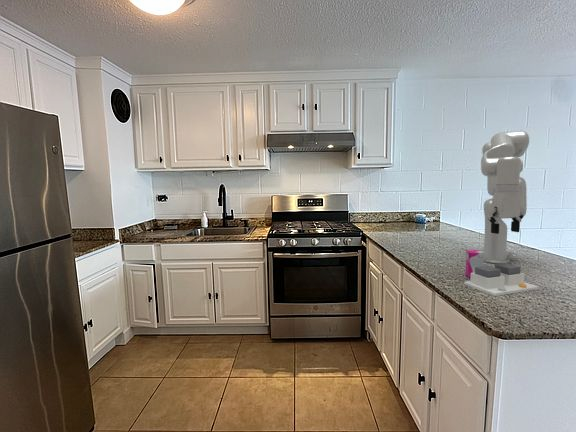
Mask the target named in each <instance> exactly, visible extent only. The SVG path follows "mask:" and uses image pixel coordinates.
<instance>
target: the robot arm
mask: <svg viewBox="0 0 576 432" xmlns="http://www.w3.org/2000/svg"><path fill="white" fill-rule="evenodd" d="M529 145H530V136H529V134H528V132H526V131H524V130H513V131H512V130H511V131H501V132H498V133H495V134H494V135H493V136H492V137H491V139H490V141H489V142H486V143H485V144H484V145H483V146H482V150H481V151H482V152H481V153H482V156H481V161H480V170H481V173H482V175H483V176H485V177H487V179H486V180H487V184H486V185H487V194H488V195H489V196H492V198H489V199H486V200H485V201H484V202H483V213H484V237H483V239H484V240H483V241H484V242H483V253H484V263H485V262H486V263H490V264H504V263H508V264H510V262H511V261H510V259H509V258H508V257H512V256H514V253H513V252H512V251H509V252H508V251H507V247H508V246H507V245H508V225H507V223H505V221H504V220H503V219H511V220H512V221H511V222H510V223H511V224H510V231H511V232H514V233H520V229H521V228H520V227H521V222H522V220H523V218H524V217H525V216H526V214H527V207H528V206H527V199H528V198H527V197H528V196H527V183H526V180H525V178H524V177H521V175H520V174H521V172H523V170H524V162H523V160H522V159H521V157H523V156H524V154H525V153H526V152H527V149H528V147H529Z"/></svg>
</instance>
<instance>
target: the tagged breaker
mask: <svg viewBox="0 0 576 432" xmlns="http://www.w3.org/2000/svg"><path fill="white" fill-rule="evenodd" d="M494 268H497V269H500V270H501V272H500V273H503V274H506V275H514V274H520V272H521V269H522V268H521V266H519V265H515V264H512V263H504V264H498V263H495V264H494ZM521 273H522V272H521Z"/></svg>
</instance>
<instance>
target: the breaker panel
mask: <svg viewBox="0 0 576 432" xmlns="http://www.w3.org/2000/svg"><path fill="white" fill-rule="evenodd" d="M525 276H526V274H525V272H520V274H514V275H506V274H503V273H500V276H499V277H492V278H486V277H483V276H480V275H477V274H475V272H474V273H471V278H470V280H467V281H464V285H465V286H468V287H469V288H473V289H476V290H478V291H481V292H483V293H486V294H488V295H491V296H492V297H498V296H504V295H511V294H515V293H523V292H529V291H535V290H539V289H540V286H539V285H535V284H531V283H528V282H526V281H525V278H526V277H525Z"/></svg>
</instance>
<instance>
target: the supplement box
mask: <svg viewBox="0 0 576 432" xmlns="http://www.w3.org/2000/svg"><path fill="white" fill-rule="evenodd" d="M484 263H485V261H484V251H482V250H481V249H465V276H466V277H467V279H470V278H471V273H474V272H475V267H480V266H485V265H484Z"/></svg>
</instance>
